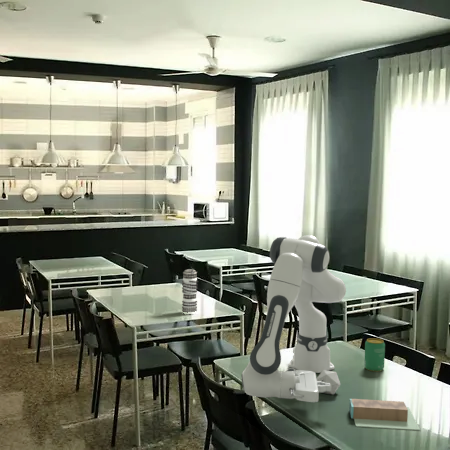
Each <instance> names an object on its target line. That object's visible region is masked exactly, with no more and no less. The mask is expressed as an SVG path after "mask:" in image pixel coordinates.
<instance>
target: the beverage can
mask: <svg viewBox="0 0 450 450" xmlns="http://www.w3.org/2000/svg"><path fill="white" fill-rule="evenodd" d="M385 353H386V344H385V342H384V340H383V339H380V338H373V337H372V338H367V339H366V340H365V342H364V363H363V364H364V366H363V367H365V370H367V371H369V372H383V370H384V369H385V355H386V354H385Z"/></svg>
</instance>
